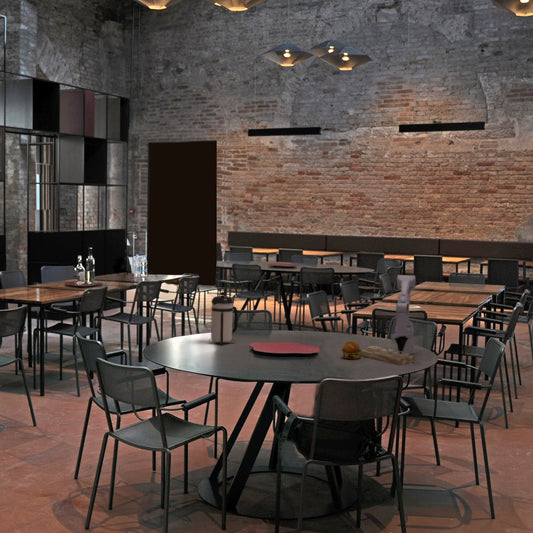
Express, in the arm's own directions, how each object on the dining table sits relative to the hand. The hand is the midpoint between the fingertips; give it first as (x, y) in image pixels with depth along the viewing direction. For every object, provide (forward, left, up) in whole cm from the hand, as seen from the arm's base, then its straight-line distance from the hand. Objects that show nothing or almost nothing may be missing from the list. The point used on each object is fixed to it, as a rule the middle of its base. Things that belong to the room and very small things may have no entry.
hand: (400, 350), depth 391 cm
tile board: (0, -9, -6) cm, 11 cm away
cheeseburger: (+15, -21, -6) cm, 26 cm away
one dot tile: (0, -18, -4) cm, 18 cm away
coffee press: (+46, -94, -6) cm, 105 cm away
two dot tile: (0, -9, -4) cm, 10 cm away
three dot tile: (0, 0, -4) cm, 4 cm away
